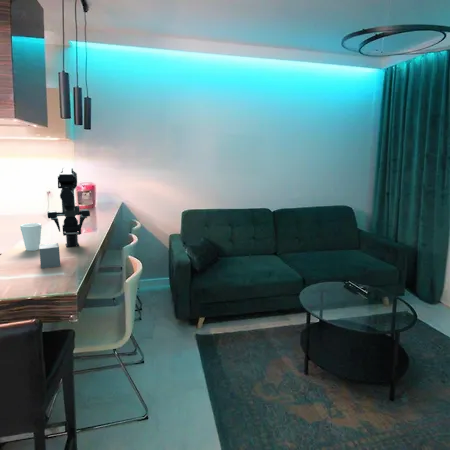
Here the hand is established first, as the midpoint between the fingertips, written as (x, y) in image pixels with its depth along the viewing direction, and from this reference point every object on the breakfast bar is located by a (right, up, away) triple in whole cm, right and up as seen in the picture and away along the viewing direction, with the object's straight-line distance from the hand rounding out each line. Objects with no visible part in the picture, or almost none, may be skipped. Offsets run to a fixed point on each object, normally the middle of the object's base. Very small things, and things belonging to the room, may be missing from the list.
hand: (70, 230), depth 169 cm
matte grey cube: (-2, -15, -15) cm, 21 cm away
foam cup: (-24, -10, +10) cm, 28 cm away
